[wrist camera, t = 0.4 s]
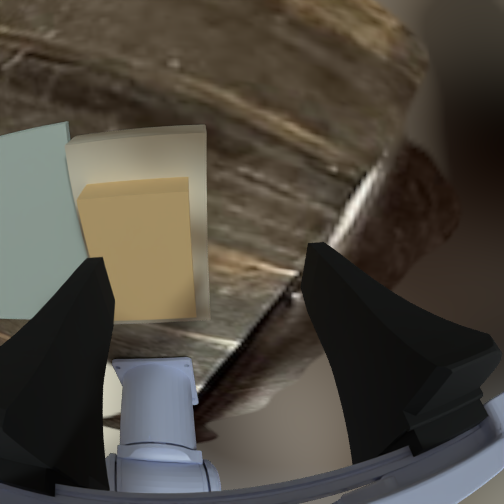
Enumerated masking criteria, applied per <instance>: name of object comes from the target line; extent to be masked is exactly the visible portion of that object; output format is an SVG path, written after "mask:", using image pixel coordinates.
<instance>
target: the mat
mask: <svg viewBox="0 0 504 504" xmlns="http://www.w3.org/2000/svg"><path fill="white" fill-rule="evenodd" d="M69 141H70V133H69V124H68V121H67V122H62V123H56V124H51V125H46V126H41V127H36V128H31V129H27V130H23V131H18V132H14V133H10V134H6V135H2V136H0V318H4V319H32V318H33V317H34V316H35V315H36V314H37V313H38V311H39V310H40V309H41V308H42V307H43V306H44V305H45V304H46V303H47V302H48V301H49V300H50V298H51V297H52V296H53V295H54V294H55V293H56V292H57V291H58V290H59V288H60V287H61V286H62V285H63V284H64V283H65V282H66V280H67V279H68V278H69V277H70V276H71V275H72V274H73V272H74V271H75V270H76V269H77V268H78V267H79V266H80V265H81V264H82V262H83V261H84V260H85V259H86V258H88V256H87V252H86V248H85V244H84V241H83V237H82V233H81V229H80V224H79V220H78V216H77V211H76V207H75V202H74V197H73V192H72V187H71V182H70V177H69V171H68V165H67V159H66V153H65V145H66V144H67V143H68V142H69Z"/></svg>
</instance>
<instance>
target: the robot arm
mask: <svg viewBox="0 0 504 504" xmlns="http://www.w3.org/2000/svg"><path fill="white" fill-rule="evenodd" d="M301 290H302V294H303V298H304V301H305V305H306V308H307V311H308V314H309V316H310V318H311V321H312V323H313V325H314V328H315V330H316V332H317V335H318V337H319V339H320V341H321V344H322V346H323V348H324V351H325V353H326V355H327V358H328V360H329V363H330V366H331V368H332V371H333V375H334V378H335V382H336V386H337V389H338V393H339V397H340V401H341V405H342V409H343V413H344V418H345V422H346V427H347V432H348V438H349V444H350V449H351V456H352V463H353V465H351V466H348V467H345V468H341V469H338V470H334V471H330V472H326V473H322V474H318V475H314V476H310V477H305V478H301V479H296V480H291V481H286V482H281V483H275V484H269V485H263V486H257V487H249V488H242V489H233V490H223V491H221V484H220V479H219V475H218V472H217V469H216V468H215V466H214V465H213V464H211V462H210V461H209V460H202V452H201V451H197V449H196V439H195V428H194V417H193V405H196V404H198V397H197V391H196V385H195V379H194V373H193V367H192V360H191V358H189V357H176V358H149V359H114V360H112V365H113V368H114V370H115V372H116V374H117V376H118V378H119V380H120V382H121V384H122V386H123V390H122V404H121V423H120V445H118V447H117V449H118V450H117V455H116V454H113V453H110V454H109V456H107V457H106V458H105V451H104V440H103V414H102V413H103V410H102V409H103V384H104V376H105V369H106V364H107V358H108V352H109V347H110V341H111V336H112V331H113V325H114V313H115V298H114V295H113V291H112V288H111V285H110V281H109V278H108V274H107V271H106V267H105V263H104V260H103V257H93V258H86V259H85V260H84V261H83V262H82V264H81V265H80V266H79V267H78V268H77V269H76V270H75V271H74V272H73V274H72V275H71V276H70V277H69V278H68V279H67V280H66V282H65V283H64V284H63V285H62V286H61V287H60V288H59V290H58V291H57V292H56V293H55V294H54V295H53V296H52V297H51V298H50V300H49V301H48V302H47V303H46V304H45V305H44V306H43V307H42V308H41V309H40V310H39V311H38V313H37V314H36V315H35V316H34V317H33V318H32V319H31V320H30V321H29V322H28V323H27V324H26V325H24V326H23V327H22V328H21V329H20V330H19V331H18V332H17V333H16V334H15V335H14V336H12V337H11V338H10V339H9V340H8V341H6V342H5V343H4V344H3V345H2V346H0V504H299V503H304V502H308V501H312V500H316V499H320V498H324V497H327V496H331V495H335V494H338V493H342V492H345V491H348V490H352V489H355V488H358V487H361V486H364V485H366V486H364V487H362V488H359V489H357V490H354V491H352V492H349V493H347V494H344V495H342V497H341V499H339V500H338V501H336V502H334V503H332V504H457V503H459V502H460V501H462V500H463V499H465V498H466V497H467V496H469V495H470V494H472V493H473V492H474V491H476V490H477V489H478V488H480V487H481V486H482V485H484V484H485V483H486V482H488V481H489V480H490V479H491V478H493V477H494V476H495V475H496V474H498V473H499V472H500V471H501V470H503V469H504V392H502V393H500V394H499V395H497V396H495V397H494V398H492V399H490V400H489V401H487V402H486V403H485V404H484V405H483V404H482V403H481V401H480V398H481V397H482V396H483V392H482V391H481V389H480V386H481V385H482V384H483V383H484V381H485V380H486V379H487V378H488V377H489V375H490V374H491V373H492V372H493V371H494V369H495V368H496V367H497V365H498V364H499V362H500V360H501V356H502V352H501V351H500V349H499V348H498V346H497V345H496V343H495V342H494V340H493V339H492V337H491V336H490V335H489V334H487V333H484V332H480V331H477V330H474V329H470V328H467V327H464V326H461V325H458V324H456V323H453V322H451V321H448V320H445V319H443V318H441V317H439V316H436V315H434V314H432V313H430V312H428V311H426V310H424V309H422V308H420V307H418V306H416V305H414V304H412V303H410V302H409V301H407V300H405V299H403V298H402V297H400V296H398V295H397V294H395V293H393V292H392V291H390V290H389V289H387V288H386V287H384V286H383V285H381V284H380V283H378V282H377V281H376V280H374V279H373V278H371V277H370V276H369V275H367V274H366V273H364V272H363V271H362V270H360V269H359V268H358V267H356V266H355V265H354V264H353V263H351V262H350V261H349V260H347V259H346V258H345V257H343V256H342V255H341V254H340V253H338V252H337V251H336V250H334V249H333V248H332V247H330V246H329V245H327V244H326V243H324V242H320V243H308V247H307V253H306V259H305V265H304V271H303V277H302V282H301ZM370 483H371V484H370ZM367 484H369V485H367Z"/></svg>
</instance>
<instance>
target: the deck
mask: <svg viewBox="0 0 504 504" xmlns="http://www.w3.org/2000/svg"><path fill="white" fill-rule="evenodd" d="M65 153H66V159H67V165H68V171H69V177H70V182H71V187H72V192H73V197H74V202H75V207H76V211H77V216H78V220H79V224H80V229H81V233H82V237H83V241H84V244H85V248H86V252H87V256H88V258H90V255H89V252H88V248H87V244H86V240H85V236H84V232H83V228H82V224H81V219H80V215H79V210H78V206H77V201H76V200H77V198H78V197H79V195H80V193H81V192H82V190H83V189H84V187H85V186H86V184H95V183H106V182H116V181H128V180H141V179H155V178H172V177H188V178H189V204H190V225H191V243H192V259H193V273H194V286H195V299H196V316H197V317H195V318H177V319H156V320H128V321H114V324H137V323H163V322H183V321H200V320H211V319H210V298H209V274H208V242H207V189H206V127H205V125H182V126H164V127H150V128H138V129H127V130H118V131H109V132H100V133H93V134H85V135H78V136H75V137H74V138H73V139H71V140H70V141H69V142H68V143H67V144H66V145H65Z"/></svg>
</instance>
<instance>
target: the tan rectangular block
mask: <svg viewBox="0 0 504 504" xmlns="http://www.w3.org/2000/svg"><path fill="white" fill-rule="evenodd" d="M76 201H77V206H78V210H79V215H80V219H81V224H82V228H83V232H84V236H85V240H86V244H87V248H88V252H89V255H90V258H93V257H103V260H104V263H105V267H106V271H107V274H108V278H109V281H110V285H111V288H112V291H113V295H114V298H115V313H114V321H128V320H156V319H177V318H195V317H197V316H196V299H195V286H194V273H193V259H192V243H191V225H190V204H189V178H188V177H172V178H155V179H141V180H128V181H116V182H106V183H95V184H86V186H85V187H84V189H83V190H82V192H81V193H80V195H79V197H78V198H77V200H76Z"/></svg>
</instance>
